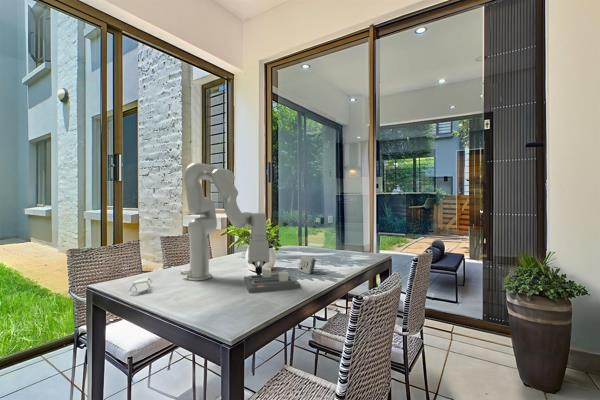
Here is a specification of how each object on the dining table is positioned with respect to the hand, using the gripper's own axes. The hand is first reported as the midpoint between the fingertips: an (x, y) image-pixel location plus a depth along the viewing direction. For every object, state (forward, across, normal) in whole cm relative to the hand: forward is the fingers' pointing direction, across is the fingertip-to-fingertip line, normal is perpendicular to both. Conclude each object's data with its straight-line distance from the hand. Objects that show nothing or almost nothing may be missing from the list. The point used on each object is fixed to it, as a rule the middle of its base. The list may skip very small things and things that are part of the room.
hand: (258, 274), depth 153 cm
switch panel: (+4, +5, -4) cm, 8 cm away
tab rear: (+2, +4, 0) cm, 5 cm away
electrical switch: (+4, +29, +14) cm, 33 cm away
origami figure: (+4, -52, +2) cm, 53 cm away
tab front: (+2, +10, -9) cm, 14 cm away
